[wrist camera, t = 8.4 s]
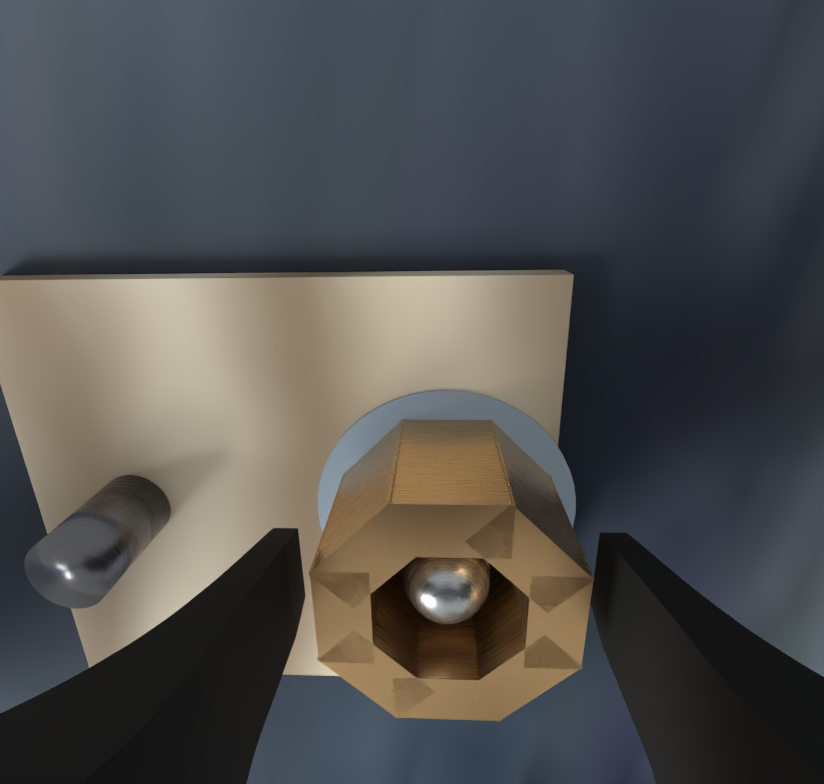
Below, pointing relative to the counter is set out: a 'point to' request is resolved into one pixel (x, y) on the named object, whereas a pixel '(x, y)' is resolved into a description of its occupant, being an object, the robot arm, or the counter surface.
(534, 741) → the counter surface
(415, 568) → the steel hub
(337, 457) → the hub pad
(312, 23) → the counter surface
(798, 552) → the counter surface
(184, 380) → the maple board
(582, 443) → the counter surface
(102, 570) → the stand rod
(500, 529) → the bronze ring
